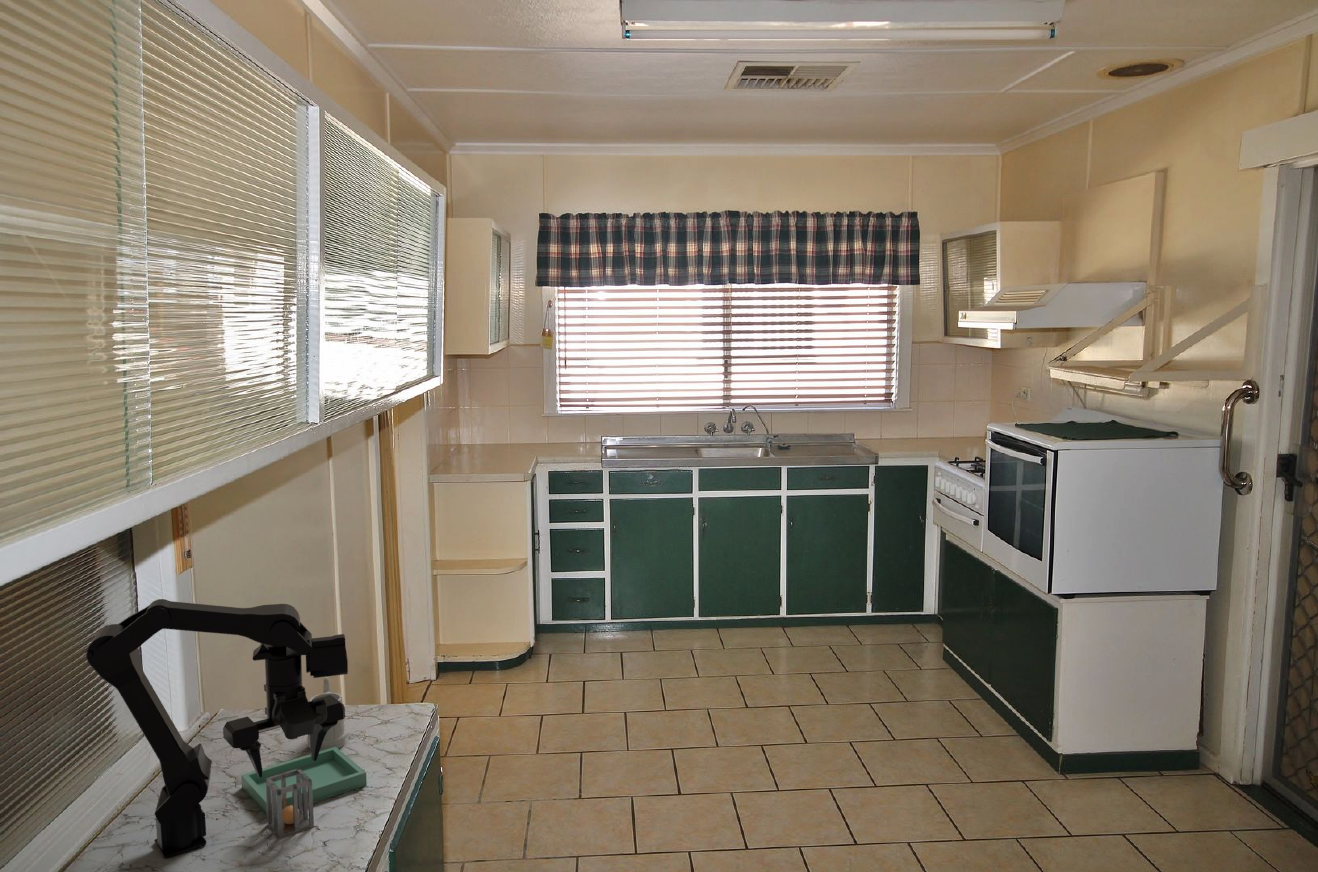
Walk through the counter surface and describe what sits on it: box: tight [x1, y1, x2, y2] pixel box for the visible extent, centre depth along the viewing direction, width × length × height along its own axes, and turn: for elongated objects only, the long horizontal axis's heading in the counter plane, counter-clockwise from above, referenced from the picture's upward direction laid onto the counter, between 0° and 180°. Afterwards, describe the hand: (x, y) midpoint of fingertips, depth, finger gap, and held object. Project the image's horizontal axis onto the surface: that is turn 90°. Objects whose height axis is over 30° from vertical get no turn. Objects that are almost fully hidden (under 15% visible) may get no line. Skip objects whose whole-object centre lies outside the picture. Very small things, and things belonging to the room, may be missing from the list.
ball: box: [282, 805, 300, 824], centre depth 165 cm, size 3×3×3 cm
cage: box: [265, 768, 315, 839], centre depth 164 cm, size 6×6×8 cm
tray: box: [240, 747, 368, 816], centre depth 178 cm, size 18×14×2 cm
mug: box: [306, 676, 348, 751], centre depth 197 cm, size 8×12×12 cm, turn 17°
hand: (287, 768), depth 163 cm, fingers open, 9 cm apart
